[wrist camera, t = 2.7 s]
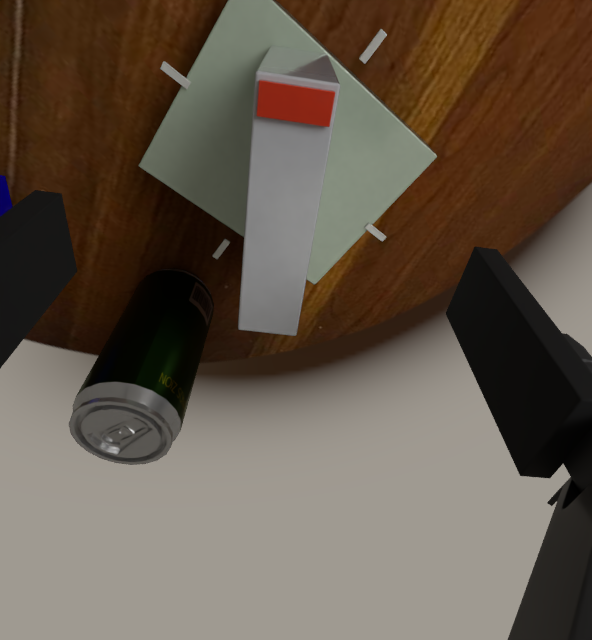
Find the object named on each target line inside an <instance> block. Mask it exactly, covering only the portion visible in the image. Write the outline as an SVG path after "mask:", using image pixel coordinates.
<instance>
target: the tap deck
mask: <svg viewBox="0 0 592 640" xmlns="http://www.w3.org/2000/svg"><path fill="white" fill-rule="evenodd" d="M386 36H387V34H386V33H385V32H384V31H383V30H382V29H380V30H379V32H378V33H377V34H376V36H375V37H374V38H373V40H372V41H371V42H370V44H369V45H368V46H367V48H366V49H365V50H364V52H363V53H362V54H361V56H360V57H359V59H360V60H361V61H362V62H363V63H364V64H365V63H366V62H367V61H368V59H369V58H370V57H371V55H372V54H373V53H374V51H375V50H376V49H377V47H378V46H379V45H380V43H381V42H382V41H383V40H384V38H385V37H386ZM272 45H275V46H281V47H288V48H294V49H300V50H306V51H312V52H318V53H325V54H327V55H328V56H329V59H330V61H331V64H332V66H333V69H334V71H335V74H336V76H337V78H338V81H339V83H340V92H339V98H338V104H337V109H336V115H335V120H334V126H333V132H332V137H331V143H330V149H329V154H328V160H327V166H326V171H325V177H324V182H323V188H322V194H321V199H320V205H319V211H318V216H317V222H316V227H315V233H314V239H313V244H312V250H311V256H310V261H309V267H308V273H307V278H306V279H307V280H308V281H310V282H311V283H313V284H314V285H315V284H316V283H317V282H318V281H319V280H320V279H321V278H322V277H323V276H324V275H325V274H326V273H327V271H328V270H329V269H330V268H331V267H332V266H333V265H334V264H335V263H336V262H337V261H338V260H339V259H340V258H341V257H342V256H343V255H344V254H345V253H346V252H347V251H348V250H349V248H350V247H351V246H352V245H353V244H354V243H355V242H356V241H357V240H358V239H359V238H360V237H361V236H362V235H363V234H364V233H365V232H366V231H367V230H368V231H369V232H370V233H372V234H373V235H374V236H376V237H377V238H378V239H379V240H381V241H383V240H384V239H385V238H386V236H385V235H384V234H383V233H382V232H380V231H379V230H378V229H376V228H375V227H374V226H373V225H372V224H373V223H374V222H375V221H376V220H377V219H378V218H379V217H380V216H381V215H382V214H383V213H384V212H385V211H386V210H387V209H388V208H389V207H390V206H391V205H392V203H393V202H394V201H395V200H396V199H397V198H398V197H399V196H400V195H401V194H402V193H403V192H404V191H405V190H406V189H407V188H408V187H409V186H410V185H411V184H412V183H413V181H414V180H415V179H416V178H417V177H418V176H419V175H420V174H421V173H422V172H423V171H424V170H425V169H426V168H427V167H428V166H429V165H430V164H431V163H432V162H433V161H434V160H435V158H436V157H437V155H436V154H435V153H434V151H433V150H432V149H431V148H430V147H429V145H428V144H427V143H426V142H425V141H424V140H423V139H422V138H421V137H420V136H419V135H418V134H417V133H416V132H415V131H413V130H412V129H411V128H410V127H409V126H408V125H407V124H406V123H405V122H404V121H403V120H402V119H401V118H400V117H399V116H398V115H397V114H396V113H394V112H393V111H392V110H391V109H390V108H389V107H388V106H387V105H386V104H385V103H384V102H383V101H382V100H381V99H380V98H379V97H378V96H377V95H375V94H374V93H373V92H372V91H371V90H370V89H369V88H368V87H367V86H366V85H365V84H364V83H363V82H362V81H361V80H360V79H359V78H358V77H356V76H355V75H354V74H353V73H352V72H351V71H350V70H349V69H348V68H347V67H346V66H345V65H344V64H343V63H342V62H341V61H340V60H339V59H337V58H336V57H335V56H334V55H333V54H332V53H331V52H330V51H329V50H328V49H327V48H326V47H325V46H324V45H323V44H322V43H321V42H320V41H318V40H317V39H316V38H315V37H314V36H313V35H312V34H311V33H310V32H309V31H308V30H307V29H306V28H305V27H304V26H303V25H302V24H301V23H299V22H298V21H297V20H296V19H295V18H294V17H293V16H292V15H291V14H290V13H289V12H288V11H287V10H286V9H285V8H284V7H283V6H282V5H280V4H279V3H278V2H277V1H276V0H228V1H227V3H226V5H225V7H224V9H223V10H222V12H221V14H220V16H219V18H218V20H217V22H216V23H215V25H214V27H213V29H212V31H211V33H210V34H209V36H208V38H207V40H206V42H205V44H204V46H203V47H202V49H201V51H200V53H199V55H198V57H197V58H196V60H195V62H194V64H193V66H192V68H191V69H190V71H189V73H188V75H187V77H186V78H185V77H184V76H183V75H181V74H180V73H179V72H178V71H176V70H175V69H174V68H173V67H171V66H170V65H169V64H167V63H166V62H165V61H164V62H163V64H162V66H161V68H160V69H161V70H163V71H164V72H165V73H166V74H168V75H169V76H170V77H172V78H173V79H174V80H175V81H177V82H178V83H179V84H180V85H182V86H181V88H180V90H179V92H178V93H177V95H176V97H175V99H174V101H173V103H172V105H171V106H170V108H169V110H168V112H167V114H166V116H165V117H164V119H163V121H162V123H161V125H160V127H159V129H158V130H157V132H156V134H155V136H154V138H153V140H152V141H151V143H150V145H149V147H148V149H147V151H146V153H145V154H144V156H143V158H142V160H141V162H140V164H139V167H140V168H142V169H143V170H145V171H146V172H148V173H149V174H151V175H152V176H154V177H155V178H157V179H158V180H160V181H161V182H163V183H164V184H166V185H167V186H169V187H170V188H172V189H173V190H175V191H176V192H178V193H179V194H180V195H182V196H183V197H185V198H186V199H188V200H189V201H191V202H192V203H194V204H195V205H197V206H198V207H200V208H201V209H203V210H204V211H206V212H207V213H209V214H210V215H212V216H213V217H215V218H216V219H218V220H219V221H221V222H222V223H224V224H225V225H227V226H228V227H229V228H231V229H232V230H234V231H235V232H237V233H238V234H240V235H241V236H243V237H244V231H245V216H246V201H247V187H248V172H249V157H250V143H251V128H252V113H253V99H254V84H255V73H256V71H257V69H258V68H259V66H260V64H261V62H262V61H263V59H264V57H265V56H266V54H267V52H268V50H269V49H270V47H271V46H272ZM229 243H230V241H228V240H227V239H224V240H223V242H222V243H221V244H220V246H219V247H218V249H217V250H216V251H215V253H214V254H213V257H214V258H216V259H218V258H219V257H220V255H221V254H222V253H223V251H224V250H225V249H226V247H227V246H228V245H229Z"/></svg>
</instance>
